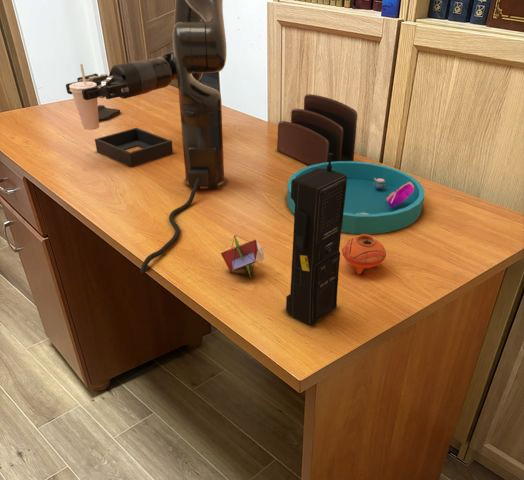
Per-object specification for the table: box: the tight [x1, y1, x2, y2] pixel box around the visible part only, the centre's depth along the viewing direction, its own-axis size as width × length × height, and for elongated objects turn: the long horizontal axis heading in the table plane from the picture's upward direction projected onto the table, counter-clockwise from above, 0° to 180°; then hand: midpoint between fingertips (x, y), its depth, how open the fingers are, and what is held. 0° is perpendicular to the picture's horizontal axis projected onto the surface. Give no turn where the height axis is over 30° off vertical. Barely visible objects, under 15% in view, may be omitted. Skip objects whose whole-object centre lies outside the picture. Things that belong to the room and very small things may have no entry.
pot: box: [341, 234, 387, 275], centre depth 97 cm, size 8×8×7 cm
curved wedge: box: [98, 104, 121, 123], centre depth 166 cm, size 8×14×2 cm, turn 158°
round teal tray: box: [286, 160, 425, 235], centre depth 118 cm, size 30×30×6 cm
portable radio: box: [285, 153, 347, 326], centre depth 79 cm, size 8×6×25 cm
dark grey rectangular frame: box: [94, 127, 174, 168], centre depth 142 cm, size 16×14×3 cm
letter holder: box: [276, 93, 358, 166], centre depth 137 cm, size 10×20×14 cm, turn 37°
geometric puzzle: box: [220, 234, 265, 278], centre depth 95 cm, size 7×7×8 cm
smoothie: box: [69, 63, 100, 131], centre depth 126 cm, size 6×6×14 cm
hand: (75, 92), depth 124 cm, fingers closed on smoothie, 6 cm apart
